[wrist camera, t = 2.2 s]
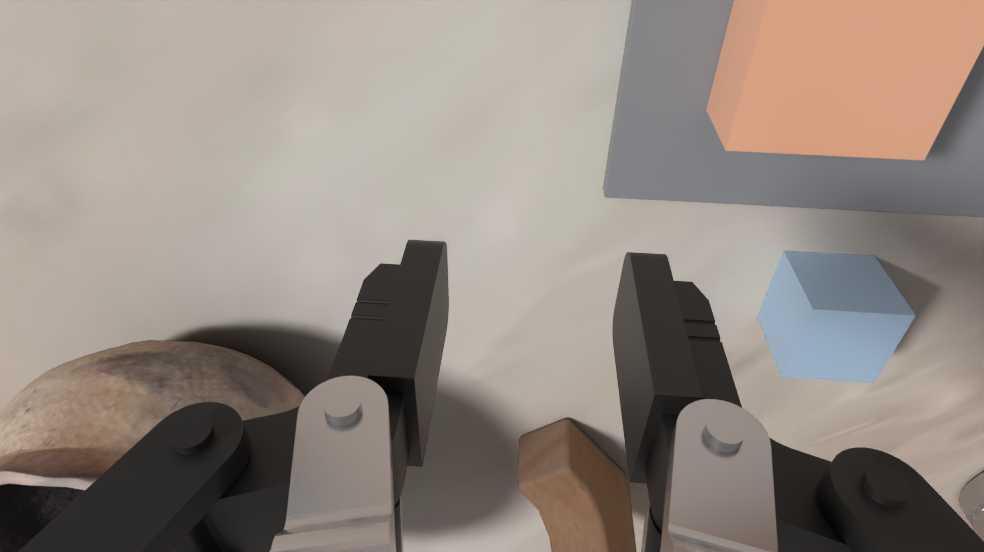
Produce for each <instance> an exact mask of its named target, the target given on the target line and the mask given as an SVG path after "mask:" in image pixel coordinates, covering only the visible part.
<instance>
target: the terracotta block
mask: <svg viewBox="0 0 984 552" xmlns="http://www.w3.org/2000/svg"><path fill="white" fill-rule="evenodd" d="M983 46H984V0H734V2H733V6H732V10H731V14H730V17H729V21H728V25H727V29H726V33H725V37H724V41H723V45H722V49H721V53H720V57H719V61H718V65H717V69H716V73H715V77H714V81H713V85H712V89H711V93H710V97H709V101H708V104H707V108H706V111H707V113H708V115H709V117H710V119H711V121H712V123H713V125H714V127H715V130H716V132H717V134H718V136H719V138H720V140H721V142H722V144H723V146H724V148H725V150H726V151H742V152H762V153H783V154H803V155H823V156H844V157H864V158H884V159H905V160H925V158H926V156H927V154H928V152H929V150H930V148H931V147H932V145H933V143H934V141H935V139H936V137H937V135H938V133H939V131H940V129H941V127H942V125H943V123H944V121H945V120H946V118H947V116H948V114H949V112H950V110H951V108H952V106H953V104H954V102H955V100H956V98H957V96H958V94H959V92H960V91H961V89H962V87H963V85H964V83H965V81H966V79H967V77H968V75H969V73H970V71H971V69H972V67H973V65H974V63H975V62H976V60H977V58H978V56H979V54H980V52H981V50H982V48H983Z"/></svg>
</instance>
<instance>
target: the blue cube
mask: <svg viewBox="0 0 984 552" xmlns="http://www.w3.org/2000/svg"><path fill="white" fill-rule="evenodd" d="M915 316H916V315H915V314H914V312H913V311H912V309H911V308H910V306H909V305H908V303H907V302H906V301H905V299H904V298H903V296H902V295H901V293H900V292H899V290H898V289H897V287H896V286H895V285H894V283H893V282H892V280H891V279H890V277H889V276H888V274H887V273H886V272H885V270H884V269H883V267H882V266H881V264H880V263H879V261H878V260H877V259H876V257H875V256H869V255H851V254H834V253H817V252H800V251H783V253H782V255H781V258H780V260H779V263H778V265H777V268H776V270H775V273H774V275H773V278H772V280H771V283H770V285H769V288H768V290H767V293H766V295H765V298H764V300H763V303H762V305H761V308H760V310H759V313H758V315H757V317H758V320H759V322H760V325H761V327H762V330H763V332H764V335H765V337H766V340H767V342H768V345H769V347H770V350H771V352H772V355H773V358H774V360H775V363H776V365H777V368H778V370H779V373H780V375H781V377H789V378H805V379H820V380H836V381H851V382H866V383H874V382H875V381H876V379H877V378H878V376H879V374H880V373H881V371H882V369H883V368H884V366H885V365H886V363H887V361H888V360H889V358H890V357H891V355H892V353H893V352H894V350H895V349H896V347H897V345H898V344H899V342H900V340H901V339H902V337H903V336H904V334H905V332H906V331H907V329H908V328H909V326H910V324H911V323H912V321H913V319H914V318H915Z"/></svg>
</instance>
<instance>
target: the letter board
mask: <svg viewBox="0 0 984 552" xmlns="http://www.w3.org/2000/svg"><path fill="white" fill-rule="evenodd" d="M733 2H734V0H632V4H631V11H630V17H629V24H628V30H627V37H626V43H625V50H624V56H623V63H622V69H621V76H620V82H619V89H618V95H617V102H616V108H615V115H614V121H613V128H612V134H611V140H610V147H609V153H608V160H607V166H606V173H605V179H604V186H603V189H604V196H605V197H610V198H629V199H648V200H667V201H686V202H705V203H724V204H743V205H762V206H781V207H801V208H820V209H839V210H858V211H877V212H896V213H915V214H934V215H953V216H972V217H984V46H983V48H982V50H981V52H980V54H979V56H978V58H977V60H976V62H975V63H974V65H973V67H972V69H971V71H970V73H969V75H968V77H967V79H966V81H965V83H964V85H963V87H962V89H961V91H960V92H959V94H958V96H957V98H956V100H955V102H954V104H953V106H952V108H951V110H950V112H949V114H948V116H947V118H946V120H945V121H944V123H943V125H942V127H941V129H940V131H939V133H938V135H937V137H936V139H935V141H934V143H933V145H932V147H931V148H930V150H929V152H928V154H927V156H926V158H925V160H905V159H884V158H864V157H844V156H823V155H803V154H783V153H762V152H742V151H726V150H725V148H724V146H723V144H722V142H721V140H720V138H719V136H718V134H717V132H716V130H715V127H714V125H713V123H712V121H711V119H710V117H709V115H708V113H707V111H706V108H707V104H708V101H709V97H710V93H711V89H712V85H713V81H714V77H715V73H716V69H717V65H718V61H719V57H720V53H721V49H722V45H723V41H724V37H725V33H726V29H727V25H728V21H729V17H730V14H731V10H732V6H733Z"/></svg>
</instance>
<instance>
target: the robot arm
mask: <svg viewBox="0 0 984 552" xmlns="http://www.w3.org/2000/svg"><path fill="white" fill-rule="evenodd" d="M448 309H449V296H448V266H447V245H446V242H441V241H423V240H408V242H407V244H406V248H405V251H404V255H403V258H402V261H401V265H396V264H380V265H379V266H378V267H377V268H376V269H375V270H373V271H372V272H371V273H370V274H369V275H368V276H367V277H366V278H365V279H364V281H363V284H362V287H361V289H360V292H359V295H358V298H357V303H355V306H354V309H353V312H352V314H351V319H350V320H349V323H348V326H347V328H346V331H345V334H344V337H343V339H342V342H341V345H340V348H339V350H338V353H337V356H336V359H335V362H334V364H333V367H332V370H331V373H330V375H329V378H328V380H327V381H325V382H323V383H321V384H319V385H318V386H316V387H315V388H314V389H312V390H311V391H310V392H309V393H308V394H307V395H306V396H305V398H304V399H303V401H302V402H301V405H300V406H299V407H297V408H294V409H292V410H289V411H286V412H282V413H278V414H273V415H268V416H263V417H258V418H253V419H248V420H243V421H242V419H241V417H240V415H239V414H238V412H237V411H236V410H235V409H234V408H232V407H230V406H228V405H226V404H223V403H218V402H201V403H196V404H192V405H188V406H186V407H183V408H181V409H179V410H177V411H175V412H173V413H171V414H170V415H168V416H167V417H165V418H164V419H163V420H162V421H160V422H159V423H158V424H157V425H156V426H155V427H154V428H153V429H152V430H150V431H149V432H148V433H147V434H146V435H145V436H144V437H143V438H142V439H141V440H140V441H138V442H137V443H136V444H135V445H134V446H133V447H132V448H131V449H130V450H129V451H127V452H126V453H125V454H124V455H123V456H122V457H121V458H120V459H119V460H118V461H117V462H115V463H114V464H113V465H112V466H111V467H110V468H109V469H108V470H107V471H106V472H105V473H103V474H102V475H101V476H100V477H99V478H98V479H97V480H96V481H95V482H94V483H92V484H91V485H90V486H89V487H88V488H87V489H86V490H85V491H84V492H83V493H82V494H80V495H79V496H78V497H77V498H76V499H75V500H74V501H73V502H72V503H71V504H70V505H68V506H67V507H66V508H65V509H64V510H63V511H62V512H61V513H60V514H59V515H57V516H56V517H55V518H54V519H53V520H52V521H51V522H50V523H49V524H48V525H47V526H45V527H44V528H43V529H42V530H41V531H40V532H39V533H38V534H37V535H36V536H35V537H33V538H32V539H31V540H30V541H29V542H28V543H27V544H26V545H25V546H24V547H23V548H21V549H20V550H19V551H18V552H270V550H271V552H404V549H403V527H402V505H401V493H402V489H403V484H404V479H405V474H406V469H407V466H419V467H422V465H423V460H424V454H425V449H426V443H427V437H428V432H429V426H430V421H431V415H432V409H433V404H434V398H435V393H436V387H437V381H438V376H439V370H440V365H441V359H442V353H443V348H444V342H445V337H446V331H447V323H448ZM613 346H614V354H615V363H616V371H617V379H618V388H619V396H620V405H621V413H622V422H623V430H624V438H625V447H626V455H627V464H628V472H629V481H630V482H636V483H647V486H648V493H649V500H650V502H649V505H648V508H647V511H646V515H645V521H644V530H643V539H642V548H641V552H984V472H983V473H981V474H980V475H978V476H977V477H975V478H974V479H973V480H971V481H970V482H969V483H968V484H967V485H966V486H965V488H964V489H963V490H962V492H961V494H960V498H959V502H960V506H961V508H962V510H963V512H964V513H965V515H966V517H967V519H968V520H969V522H970V524H971V526H972V527H973V529H974V531H975V532H974V531H973V530H972V529H971V528H970V527H969V526H968V524H967V523H966V522H965V521H964V520H963V519H962V518H961V517H960V516H959V515H958V514H957V513H956V512H955V511H954V510H953V509H952V508H951V507H950V506H949V505H948V504H947V502H946V501H945V500H944V499H943V498H942V497H941V496H940V495H939V494H938V493H937V492H936V491H935V490H934V489H933V488H932V487H931V486H930V485H929V484H928V483H927V482H926V480H925V479H924V478H923V477H922V476H921V475H920V474H918V473H917V472H916V471H915V470H914V469H913V468H912V467H910V466H909V465H908V464H906V463H905V462H903V461H901V460H900V459H898V458H896V457H894V456H892V455H890V454H888V453H885V452H882V451H879V450H875V449H871V448H851V449H847V450H844V451H842V452H841V453H839V454H838V455H837V456H836V457H835V458H834V460H833V461H832V462H830V461H827V460H824V459H821V458H818V457H815V456H812V455H809V454H806V453H803V452H800V451H797V450H794V449H791V448H789V447H786V446H784V445H782V444H780V443H778V442H776V441H774V440H772V439H771V438H769V436H768V433H767V432H766V430H765V428H764V427H763V425H762V424H761V423H760V422H759V421H758V420H757V419H756V418H755V417H754V416H753V415H752V414H750V413H749V412H748V411H746V410H745V409H743V408H742V406H741V403H740V400H739V397H738V393H737V390H736V387H735V384H734V381H733V377H732V374H731V371H730V368H729V364H728V361H727V358H726V355H725V352H724V348H723V345H722V342H720V335H719V332H718V329H717V326H716V325H715V319H714V316H713V313H712V310H711V306H710V303H709V300H708V299H707V298H706V297H705V296H704V295H703V294H702V292H701V291H700V290H699V289H698V288H697V287H696V286H695V285H694V283H693V282H684V281H673V277H672V273H671V269H670V265H669V261H668V258H667V256H666V255H665V254H649V253H631V252H627V254H626V256H625V259H624V263H623V268H622V273H621V279H620V284H619V289H618V294H617V299H616V304H615V309H614V316H613Z"/></svg>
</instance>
